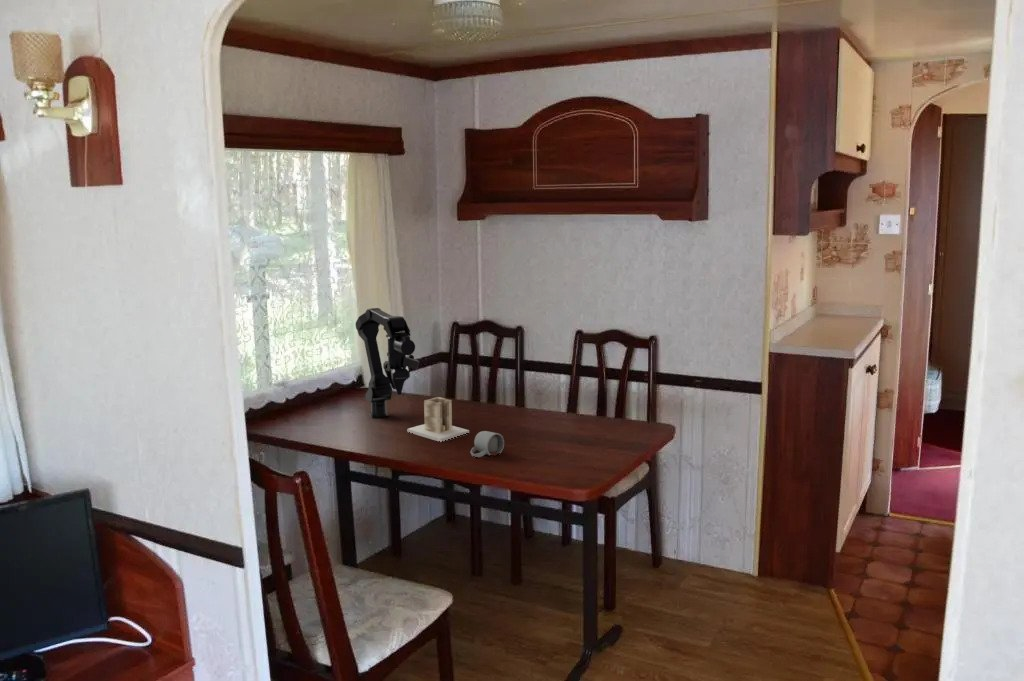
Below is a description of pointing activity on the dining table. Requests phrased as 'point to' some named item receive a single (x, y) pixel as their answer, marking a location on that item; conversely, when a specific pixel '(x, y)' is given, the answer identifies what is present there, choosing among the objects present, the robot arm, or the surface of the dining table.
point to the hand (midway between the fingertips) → (396, 391)
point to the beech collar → (437, 414)
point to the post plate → (440, 436)
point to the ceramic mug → (487, 443)
